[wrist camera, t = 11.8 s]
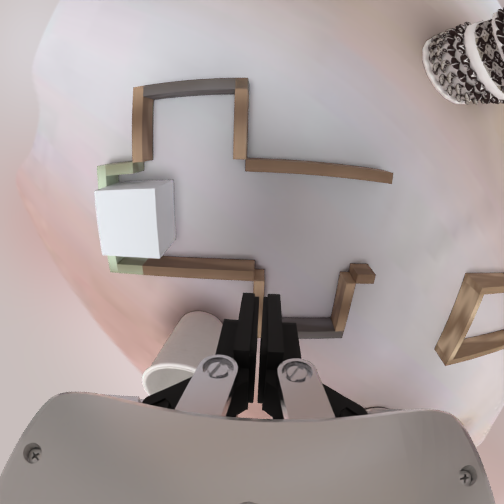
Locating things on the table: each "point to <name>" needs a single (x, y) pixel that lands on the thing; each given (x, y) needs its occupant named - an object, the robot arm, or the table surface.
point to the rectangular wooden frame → (470, 321)
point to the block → (136, 218)
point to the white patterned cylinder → (468, 61)
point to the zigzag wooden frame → (240, 88)
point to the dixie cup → (183, 351)
